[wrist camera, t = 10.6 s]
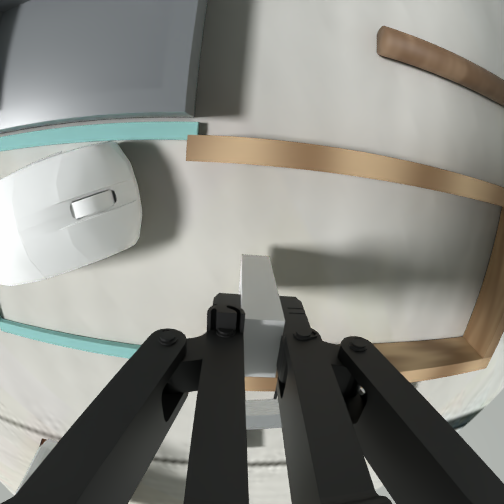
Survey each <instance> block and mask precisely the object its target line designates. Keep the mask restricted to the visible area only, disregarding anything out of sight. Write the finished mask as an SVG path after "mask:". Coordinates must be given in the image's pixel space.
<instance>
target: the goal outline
mask: <svg viewBox="0 0 504 504" xmlns="http://www.w3.org/2000/svg"><path fill="white" fill-rule="evenodd" d="M198 132H199V122H129V123H109V124H95V125H83V126H73V127H64V128H55V129H47V130H40V131H33V132H27V133H21V134H15V135H9V136H4V137H0V151H5V150H12V149H19V148H26V147H35V146H43V145H53V144H64V143H76V142H90V141H109V140H148V139H168V140H187V136H188V135H198ZM0 328H1V331H4V332H8V333H11V334H15V335H19V336H22V337H26V338H30V339H34V340H38V341H42V342H46V343H50V344H55V345H59V346H64V347H68V348H73V349H78V350H83V351H88V352H93V353H99V354H104V355H110V356H116V357H123V358H129V359H130V358H131V357H132V355H133V354H134V353H135V352H136V351H137V350H138V349H139V347H140V346H141V345H134V344H126V343H120V342H113V341H106V340H100V339H94V338H89V337H83V336H78V335H72V334H67V333H62V332H57V331H52V330H48V329H43V328H39V327H34V326H30V325H26V324H22V323H18V322H14V321H10V320H6V319H2V318H1V316H0Z"/></svg>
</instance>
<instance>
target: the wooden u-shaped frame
mask: <svg viewBox="0 0 504 504" xmlns="http://www.w3.org/2000/svg"><path fill="white" fill-rule="evenodd" d="M186 161H202V162H222V163H238V164H252V165H264V166H275V167H286V168H295V169H305V170H313V171H322V172H329V173H337V174H344V175H351V176H358V177H365V178H371V179H377V180H383V181H389V182H395V183H400V184H406V185H411V186H416V187H422V188H427V189H431V190H436V191H441V192H446V193H450V194H455V195H459V196H463V197H467V198H472V199H476V200H480V201H484V202H488V203H491V204H495V205H499V206H502V209H501V215H500V220H499V224H498V229H497V233H496V238H495V242H494V246H493V250H492V253H491V257H490V261H489V264H488V268H487V271H486V274H485V278H484V281H483V284H482V287H481V290H480V293H479V296H478V299H477V302H476V304H475V307H474V310H473V312H472V315H471V318H470V320H469V323H468V325H467V328H466V330H465V333H464V335H463V337H455V338H446V339H436V340H425V341H412V342H397V343H379V344H373V345H374V346H375V347H376V348H377V349H378V350H379V351H380V352H381V353H382V354H383V355H384V356H385V357H386V358H387V359H388V360H389V361H390V362H391V364H392V365H393V366H394V367H395V368H396V369H397V370H398V371H399V372H400V373H401V374H402V375H403V376H404V377H405V378H406V379H407V380H408V381H409V382H410V383H411V382H417V381H424V380H430V379H436V378H442V377H447V376H452V375H457V374H462V373H467V372H471V371H476V370H480V369H484V368H486V367H487V365H488V363H489V361H490V359H491V357H492V355H493V353H494V351H495V349H496V347H497V345H498V343H499V341H500V338H501V336H502V334H503V332H504V187H501V186H498V185H495V184H491V183H488V182H485V181H482V180H479V179H475V178H472V177H468V176H465V175H461V174H458V173H454V172H451V171H447V170H443V169H439V168H435V167H431V166H427V165H423V164H419V163H414V162H410V161H405V160H401V159H396V158H391V157H386V156H381V155H376V154H371V153H365V152H360V151H354V150H348V149H341V148H335V147H328V146H321V145H314V144H306V143H298V142H289V141H280V140H270V139H259V138H246V137H231V136H212V135H188V136H187V151H186ZM277 379H278V372H277V370H276V376H275V377H246V376H245V391H275V389H276V384H277ZM361 388H362V387H361Z"/></svg>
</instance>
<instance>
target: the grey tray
mask: <svg viewBox="0 0 504 504" xmlns="http://www.w3.org/2000/svg"><path fill="white" fill-rule="evenodd" d="M207 2H208V0H0V134H1V133H6V132H11V131H17V130H22V129H28V128H34V127H41V126H48V125H55V124H63V123H72V122H81V121H92V120H105V119H121V118H145V117H194V114H195V103H196V92H197V81H198V72H199V63H200V54H201V46H202V38H203V30H204V23H205V15H206V9H207Z"/></svg>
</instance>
